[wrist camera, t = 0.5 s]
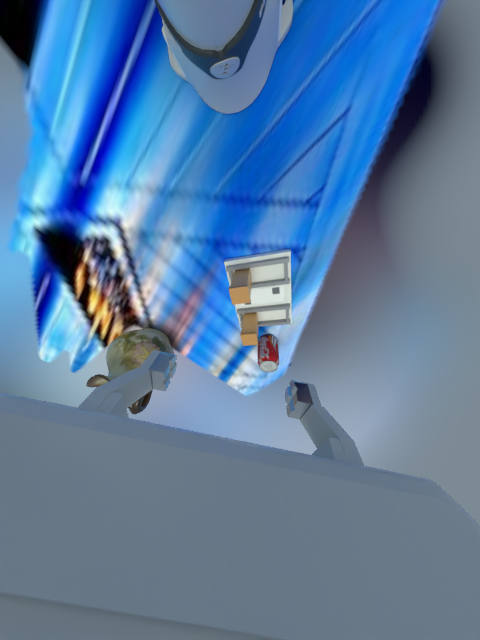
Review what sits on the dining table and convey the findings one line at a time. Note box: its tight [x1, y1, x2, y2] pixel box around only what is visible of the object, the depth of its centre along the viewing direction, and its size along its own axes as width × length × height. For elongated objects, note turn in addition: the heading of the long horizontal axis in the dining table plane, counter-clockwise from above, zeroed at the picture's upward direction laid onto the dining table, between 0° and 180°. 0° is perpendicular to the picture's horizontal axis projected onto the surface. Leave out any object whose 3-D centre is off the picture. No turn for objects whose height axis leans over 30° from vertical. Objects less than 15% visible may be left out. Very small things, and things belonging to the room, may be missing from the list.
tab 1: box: [229, 268, 252, 305], centre depth 43 cm, size 4×4×11 cm
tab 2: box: [241, 312, 258, 346], centre depth 51 cm, size 4×4×11 cm
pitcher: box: [87, 328, 174, 414], centre depth 61 cm, size 22×24×25 cm
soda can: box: [258, 335, 279, 372], centre depth 60 cm, size 7×7×12 cm
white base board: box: [224, 249, 292, 328], centre depth 51 cm, size 23×17×4 cm
